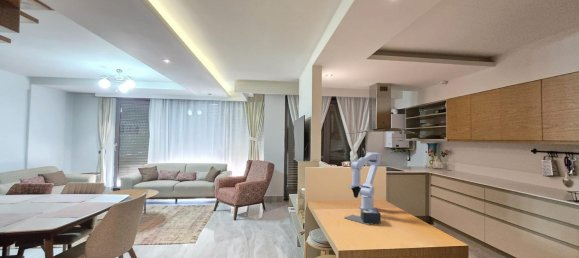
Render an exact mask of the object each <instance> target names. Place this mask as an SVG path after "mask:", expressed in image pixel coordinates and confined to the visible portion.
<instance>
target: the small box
mask: <svg viewBox="0 0 579 258" xmlns="http://www.w3.org/2000/svg"><path fill="white" fill-rule="evenodd" d="M381 216H382V215H381V213H380V211H379V210H378V209H377V208H374V209H365V208H360V217H361V219H362V220H363V222H364V223H373V224H381V219H382V217H381Z"/></svg>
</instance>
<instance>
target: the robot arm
mask: <svg viewBox="0 0 579 258" xmlns="http://www.w3.org/2000/svg"><path fill="white" fill-rule="evenodd" d="M381 159H382V155H381V153H380V152H370V151H369V152H367V153H366V154H365V156H363V157H359V158H358V159H357V160H355V161H352V162H351V163H350V168H351V174H352V176H351V180H352V181H351V184H349V186H348V189H351V191H352V192H353V198H355V199H357V198H358V197H359V195H360V197H361V206H360V207H359V209H361V208H365V209H376V207H375V206H374V204H375V203H374V202H375V201H374V200H375V199H374V195H375V186H373V183H374V181H375V176H376V174H377V170H378V167H379V165H380V163H381ZM367 163H368V164H369V165H370V166H369V170H368V172H367V177H366V178H365V179H366V180H365V182H364V183H361V170H362V169H363V167H364V166H365V165H366V164H367Z"/></svg>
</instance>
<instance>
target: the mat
mask: <svg viewBox="0 0 579 258" xmlns="http://www.w3.org/2000/svg"><path fill="white" fill-rule="evenodd" d="M343 219H345V220H350V221H352V222H355V223H358V224H363V225H366V226H371V225H373V224H374V223H364V222H363V220H362V219H361V215H360V216H359V215H355V214H350V215H348V216H344V217H343Z"/></svg>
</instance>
